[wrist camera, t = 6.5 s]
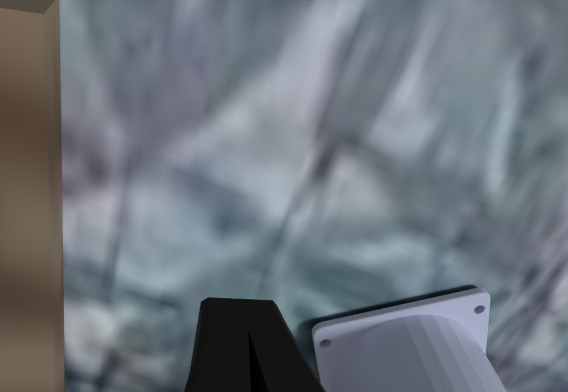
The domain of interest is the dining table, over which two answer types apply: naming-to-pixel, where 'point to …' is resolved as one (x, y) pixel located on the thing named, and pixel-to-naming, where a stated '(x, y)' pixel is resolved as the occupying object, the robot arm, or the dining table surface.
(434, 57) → the dining table surface
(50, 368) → the button panel
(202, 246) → the dining table surface
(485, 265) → the dining table surface
